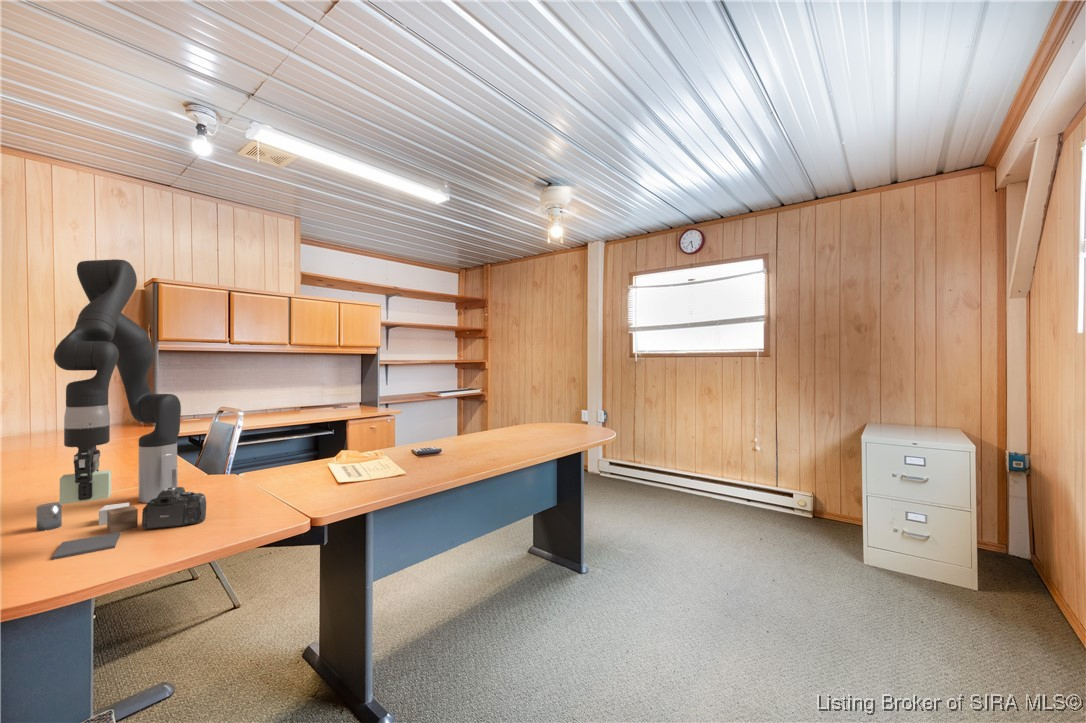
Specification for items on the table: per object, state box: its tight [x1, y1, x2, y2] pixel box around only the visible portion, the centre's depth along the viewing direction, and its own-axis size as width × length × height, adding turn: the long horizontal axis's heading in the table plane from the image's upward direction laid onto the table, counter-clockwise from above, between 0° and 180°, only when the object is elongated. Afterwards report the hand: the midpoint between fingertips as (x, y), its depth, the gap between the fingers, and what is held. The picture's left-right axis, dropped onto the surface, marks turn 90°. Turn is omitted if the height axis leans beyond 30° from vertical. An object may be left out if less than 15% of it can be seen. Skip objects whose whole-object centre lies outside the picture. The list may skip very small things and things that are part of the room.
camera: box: [141, 486, 207, 530], centre depth 119 cm, size 13×10×10 cm
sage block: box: [59, 469, 112, 505], centre depth 104 cm, size 8×4×6 cm, turn 129°
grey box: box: [98, 502, 130, 526], centre depth 121 cm, size 5×5×4 cm
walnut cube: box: [106, 504, 139, 534], centre depth 115 cm, size 5×5×5 cm
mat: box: [51, 532, 121, 560], centre depth 105 cm, size 10×10×1 cm
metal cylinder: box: [35, 501, 63, 532], centre depth 115 cm, size 4×4×6 cm
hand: (87, 496), depth 104 cm, fingers closed on sage block, 4 cm apart
